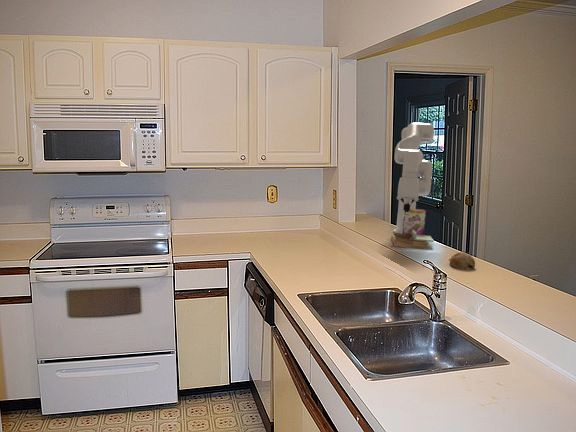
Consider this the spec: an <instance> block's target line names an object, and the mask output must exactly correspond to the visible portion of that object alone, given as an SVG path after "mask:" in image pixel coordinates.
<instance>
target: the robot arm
mask: <svg viewBox="0 0 576 432" xmlns="http://www.w3.org/2000/svg"><path fill="white" fill-rule="evenodd" d="M434 136H435V128H434V125H432V123H426V122H425V123H424V122H410V124H408V125H407V127H404V128H403V129H402V130H401V140H400V141H399V142H397V144H396V146H395V149H394V161H395V163H396V164H400V165H402V173H401V176H400V177H399V181H398V185H397V196H396V200H398V206H397V207H398V209H397V219H396V227H395V228H394V229H393V231H392V232H393V233H394V234H402V224H403V215H404V210H405V212H408V211H410V209H417V208H416V207H417V202H418V201H419V196H422V197H423V196H429V195H430V194H431V193H430V192H431V187H432V178H433V175H432V174H433V164H432V162H431V160H428V159H427V160H426V159H424V154H423V152H422V150H420V149H419V147H420V146H421V144H431V143H432V142H433V140H434ZM419 177H421V178H419Z"/></svg>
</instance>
